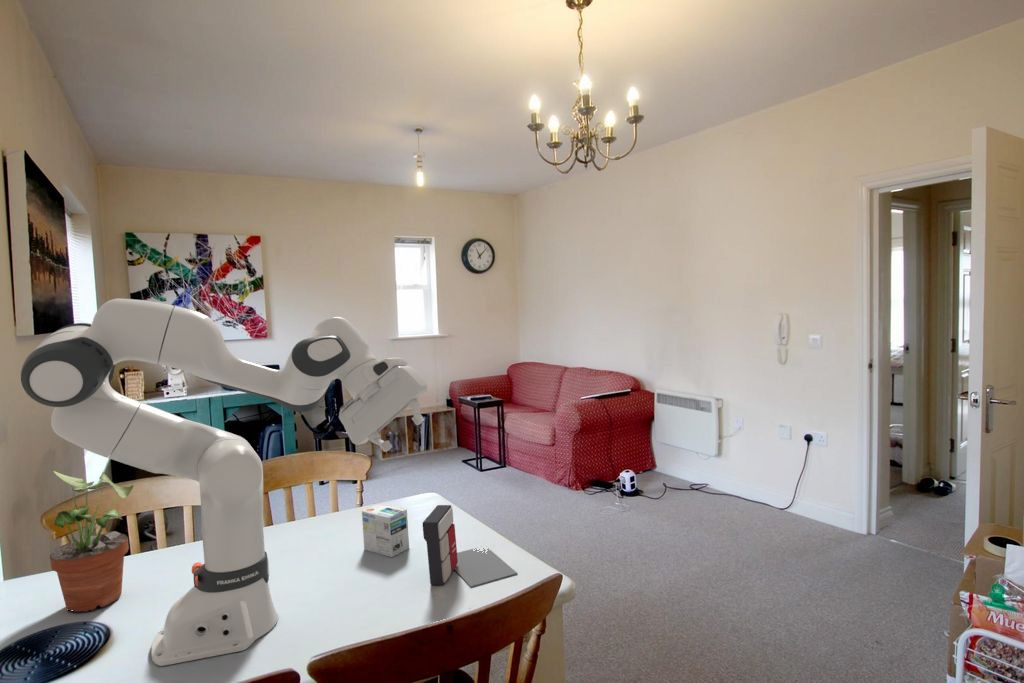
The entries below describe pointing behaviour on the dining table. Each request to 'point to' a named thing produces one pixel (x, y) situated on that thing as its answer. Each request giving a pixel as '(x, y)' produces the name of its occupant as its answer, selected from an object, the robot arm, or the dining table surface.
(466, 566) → the mat
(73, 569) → the potted plant
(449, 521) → the dark grey lidded case
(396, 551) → the light bulb box
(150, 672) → the dining table surface
